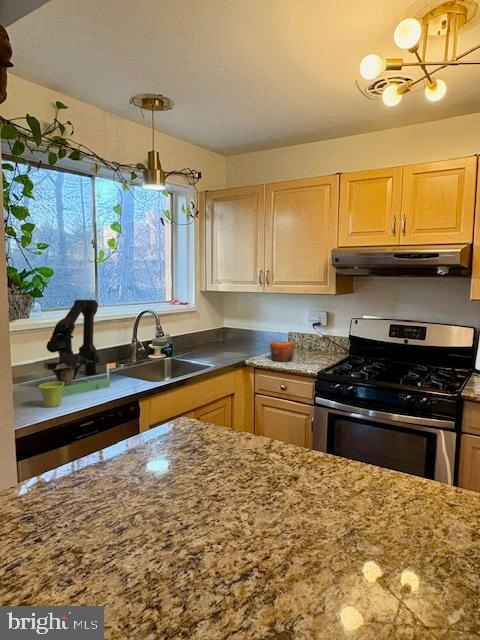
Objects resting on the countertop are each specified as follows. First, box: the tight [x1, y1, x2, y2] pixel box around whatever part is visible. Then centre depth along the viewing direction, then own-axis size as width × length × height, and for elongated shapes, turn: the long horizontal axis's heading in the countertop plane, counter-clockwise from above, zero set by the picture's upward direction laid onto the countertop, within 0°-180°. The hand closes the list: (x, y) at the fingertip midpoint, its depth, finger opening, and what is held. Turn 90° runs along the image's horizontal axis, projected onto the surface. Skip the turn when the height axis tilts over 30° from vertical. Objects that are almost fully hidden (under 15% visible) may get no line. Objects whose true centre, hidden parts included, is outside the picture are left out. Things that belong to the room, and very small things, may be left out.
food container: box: [269, 340, 296, 363], centre depth 258 cm, size 16×16×11 cm
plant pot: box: [38, 381, 65, 408], centre depth 169 cm, size 9×9×9 cm
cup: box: [59, 366, 75, 386], centre depth 200 cm, size 7×7×8 cm
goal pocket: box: [62, 362, 117, 397], centre depth 193 cm, size 12×30×11 cm, turn 135°
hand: (66, 380), depth 200 cm, fingers closed on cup, 6 cm apart
